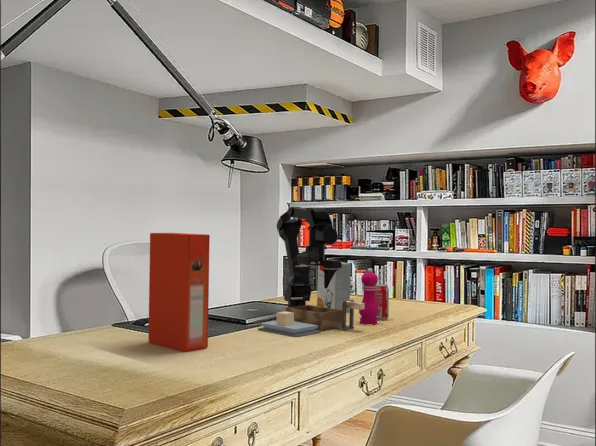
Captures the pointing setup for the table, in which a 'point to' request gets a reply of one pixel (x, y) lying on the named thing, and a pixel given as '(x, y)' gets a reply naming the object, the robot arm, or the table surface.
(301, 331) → the lid
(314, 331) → the felt pad
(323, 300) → the hard drive box
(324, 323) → the open wooden box
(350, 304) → the tan wooden bar
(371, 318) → the pepper mill
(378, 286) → the soda can
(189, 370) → the table surface
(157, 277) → the file binder
